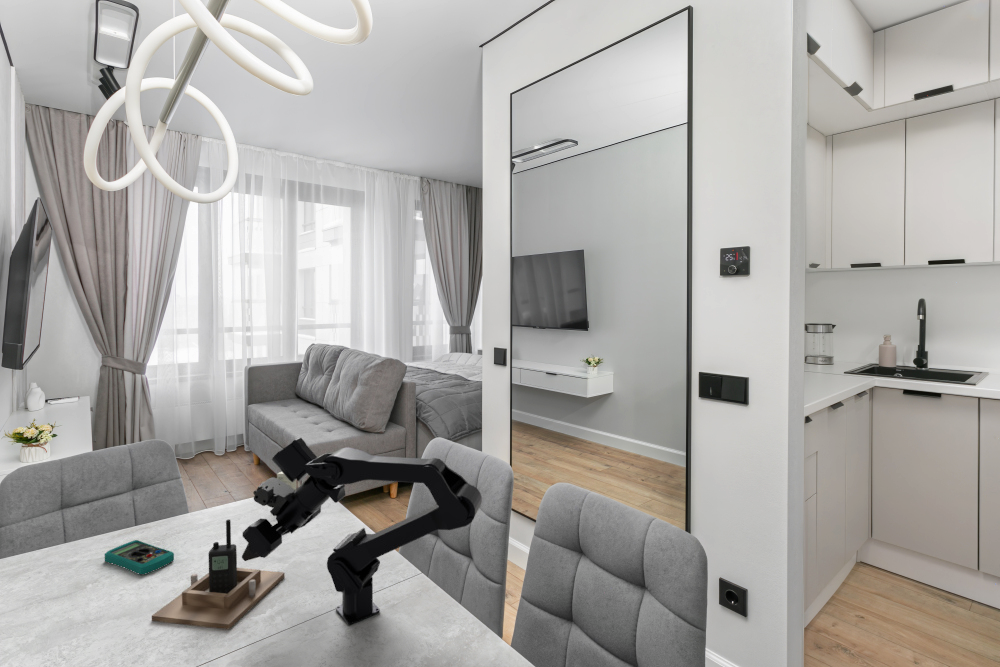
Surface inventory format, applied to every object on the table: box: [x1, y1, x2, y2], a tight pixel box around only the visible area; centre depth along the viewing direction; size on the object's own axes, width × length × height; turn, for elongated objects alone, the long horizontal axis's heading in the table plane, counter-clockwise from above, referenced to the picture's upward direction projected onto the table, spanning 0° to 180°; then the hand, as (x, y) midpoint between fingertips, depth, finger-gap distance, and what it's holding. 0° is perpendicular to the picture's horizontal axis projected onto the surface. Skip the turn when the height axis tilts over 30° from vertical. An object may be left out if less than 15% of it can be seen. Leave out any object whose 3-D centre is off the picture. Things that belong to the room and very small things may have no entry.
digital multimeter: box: [104, 539, 175, 575], centre depth 115 cm, size 7×15×3 cm, turn 66°
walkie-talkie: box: [208, 519, 238, 594], centre depth 101 cm, size 5×3×15 cm
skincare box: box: [276, 470, 301, 490], centre depth 149 cm, size 5×4×10 cm
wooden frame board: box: [151, 567, 286, 631], centre depth 101 cm, size 16×18×4 cm
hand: (258, 547), depth 100 cm, fingers open, 9 cm apart
